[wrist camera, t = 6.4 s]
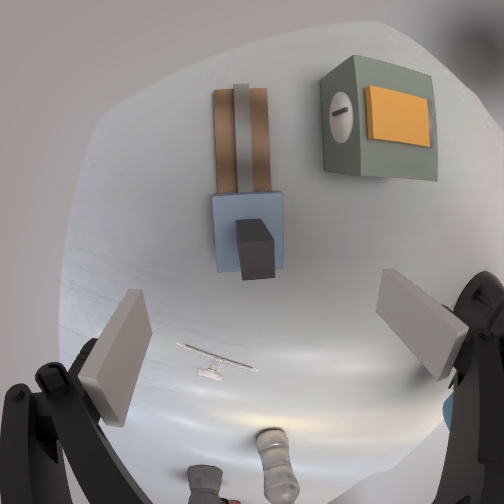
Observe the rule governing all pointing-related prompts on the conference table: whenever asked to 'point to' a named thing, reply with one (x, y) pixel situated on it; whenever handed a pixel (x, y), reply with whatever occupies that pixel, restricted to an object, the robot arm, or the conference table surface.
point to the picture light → (213, 373)
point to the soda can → (232, 502)
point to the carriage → (249, 233)
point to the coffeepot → (205, 485)
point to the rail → (229, 143)
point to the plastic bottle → (277, 468)
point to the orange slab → (399, 117)
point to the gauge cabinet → (356, 128)
